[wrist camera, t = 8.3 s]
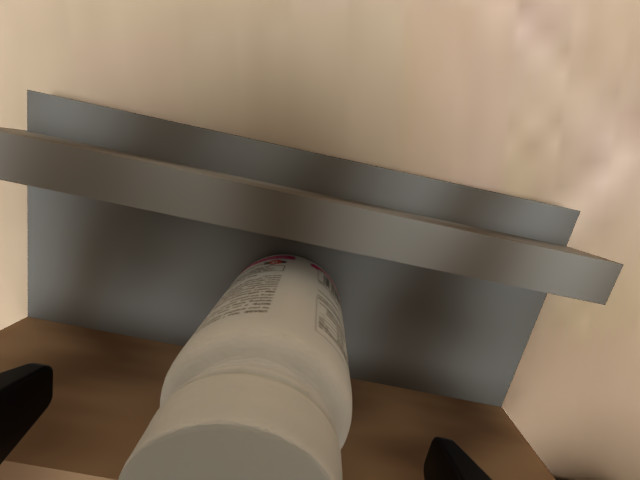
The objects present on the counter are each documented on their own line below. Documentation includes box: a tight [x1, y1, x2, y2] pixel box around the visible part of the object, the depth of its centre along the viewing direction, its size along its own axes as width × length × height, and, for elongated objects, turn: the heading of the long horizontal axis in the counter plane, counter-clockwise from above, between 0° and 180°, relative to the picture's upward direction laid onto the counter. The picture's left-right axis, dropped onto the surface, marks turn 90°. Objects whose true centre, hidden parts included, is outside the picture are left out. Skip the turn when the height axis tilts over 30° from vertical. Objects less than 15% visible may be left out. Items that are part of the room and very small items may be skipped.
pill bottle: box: [118, 254, 352, 480], centre depth 9 cm, size 5×5×8 cm
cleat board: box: [0, 90, 623, 480], centre depth 11 cm, size 22×11×7 cm, turn 78°
